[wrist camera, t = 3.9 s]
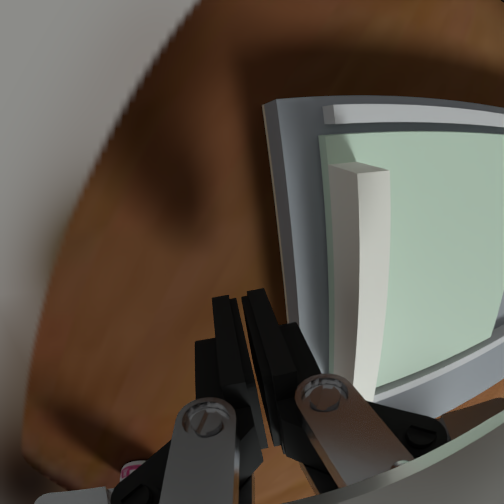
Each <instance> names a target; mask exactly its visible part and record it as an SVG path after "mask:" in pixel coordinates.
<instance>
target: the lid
mask: <svg viewBox="0 0 504 504" xmlns="http://www.w3.org/2000/svg"><path fill="white" fill-rule="evenodd" d="M318 138H319V148H320V158H321V168H322V180H323V192H324V206H325V221H326V238H327V259H328V289H329V373H330V374H336V375H339V376H342V377H344V378H346V379H347V380H348V381H349V382H350V383H351V384H352V385H353V386H354V387H355V388H356V390H357V391H358V392H359V393H360V394H361V396H362V397H363V398H364V399H365V400H366V401H370V402H373V400H374V394H375V388H376V387H379V386H382V385H384V384H387V383H390V382H393V381H395V380H398V379H400V378H403V377H406V376H408V375H411V374H413V373H416V372H418V371H420V370H423V369H425V368H427V367H430V366H432V365H434V364H437V363H439V362H441V361H443V360H446V359H448V358H450V357H452V356H454V355H456V354H458V353H460V352H462V351H465V350H467V349H469V348H471V347H473V346H474V345H476V344H478V343H480V342H482V341H484V340H486V339H488V338H490V337H491V335H492V331H493V328H494V325H495V322H496V318H497V315H498V311H499V307H500V304H501V300H502V296H503V292H504V134H494V133H479V132H456V131H385V132H361V133H344V134H330V135H318Z"/></svg>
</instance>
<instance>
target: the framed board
mask: <svg viewBox="0 0 504 504" xmlns="http://www.w3.org/2000/svg"><path fill="white" fill-rule="evenodd" d="M262 109H263V117H264V124H265V131H266V139H267V146H268V154H269V162H270V170H271V178H272V186H273V194H274V202H275V211H276V219H277V228H278V237H279V246H280V255H281V264H282V274H283V284H284V293H285V304H286V314H287V324H288V323H292V322H297V324H298V326H299V328H300V330H301V332H302V334H303V336H304V338H305V340H306V342H307V344H308V346H309V348H310V350H311V352H312V354H313V356H314V358H315V360H316V362H317V364H318V367H319V369H320V371H321V373H322V374H327V373H329V289H328V259H327V238H326V221H325V206H324V192H323V180H322V168H321V158H320V148H319V138H318V135H330V134H344V133H361V132H385V131H456V132H479V133H494V134H504V108H501V107H496V106H490V105H483V104H477V103H469V102H462V101H453V100H444V99H433V98H420V97H403V96H371V95H349V96H316V97H298V98H285V99H276V100H273V101H271V102H268V103H266V104H264V105H262ZM503 378H504V292H503V296H502V300H501V304H500V307H499V311H498V315H497V318H496V322H495V325H494V328H493V331H492V335H491V337H490V338H488V339H486V340H484V341H482V342H480V343H478V344H476V345H474V346H473V347H471V348H469V349H467V350H465V351H462V352H460V353H458V354H456V355H454V356H452V357H450V358H448V359H446V360H443V361H441V362H439V363H437V364H434V365H432V366H430V367H427V368H425V369H423V370H420V371H418V372H416V373H413V374H411V375H408V376H406V377H403V378H400V379H398V380H395V381H393V382H390V383H387V384H384V385H382V386H379V387H376V388H375V394H374V400H373V403H377V404H381V405H384V406H388V407H392V408H396V409H400V410H404V411H408V412H412V413H417V414H421V415H425V416H429V417H432V418H436V417H438V416H440V415H442V414H444V413H446V412H448V411H450V410H452V409H454V408H455V407H457V406H459V405H461V404H463V403H464V402H466V401H468V400H470V399H471V398H473V397H475V396H476V395H478V394H480V393H481V392H483V391H485V390H486V389H488V388H490V387H491V386H493V385H494V384H496V383H497V382H499V381H500V380H502V379H503Z"/></svg>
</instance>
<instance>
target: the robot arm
mask: <svg viewBox="0 0 504 504" xmlns="http://www.w3.org/2000/svg"><path fill="white" fill-rule="evenodd" d="M241 298H242V304H243V310H244V315H245V321H246V327H247V332H248V338H249V343H250V349H251V354H252V359H253V364H254V369H255V373H256V377H257V381H258V385H259V389H260V393H261V397H262V401H263V405H264V409H265V413H266V417H267V421H268V425H269V429H270V433H271V437H272V441H273V444H274V446H279V445H281V447H282V450H283V454H286V456H287V457H289V458H292V459H294V460H296V461H299V463H300V467H301V469H302V471H303V472H304V474H305V476H306V478H307V480H308V482H309V483H310V485H311V487H312V489H313V491H314V493H315V494H316V495H315V496H312V497H308V498H304V499H300V500H296V501H291V502H287V503H283V504H504V398H495V399H491V400H489V401H486V402H483V403H479V404H476V405H473V406H470V407H467V408H463V409H460V410H456V411H453V412H449V413H445V414H442V415H441V418H439V419H434V418H432V417H429V416H425V415H421V414H417V413H412V412H408V411H404V410H400V409H396V408H392V407H388V406H384V405H381V404H377V403H373V402H370V401H366V400H365V399H364V398H363V397H362V396H361V394H360V393H359V392H358V391H357V390H356V388H355V387H354V386H353V385H352V384H351V383H350V382H349V381H348V380H347V379H346V378H344V377H342V376H339V375H336V374H330V373H327V374H322V373H321V371H320V369H319V367H318V364H317V362H316V360H315V358H314V356H313V354H312V352H311V350H310V348H309V346H308V344H307V342H306V340H305V338H304V336H303V334H302V332H301V330H300V328H299V326H298V324H297V322H292V323H288V324H283V325H278V322H277V320H276V317H275V315H274V312H273V310H272V307H271V305H270V302H269V300H268V297H267V295H266V292H265V290H264V288H262V289H257V290H251V291H247V296H244V297H241ZM212 305H213V316H214V327H215V338H211V339H205V340H199V341H196V342H195V386H196V400H194V401H192V402H190V403H188V404H187V405H185V406H184V407H183V408H182V409H181V410H180V412H179V413H178V415H177V418H176V421H175V426H174V431H173V435H172V439H171V440H170V441H169V442H168V443H167V444H166V445H164V446H163V447H162V448H161V449H160V450H158V451H157V452H156V453H155V454H154V455H153V456H151V457H150V458H149V459H148V460H147V461H145V462H144V463H143V464H142V465H141V466H139V467H138V468H137V469H136V470H134V471H133V472H132V473H131V474H129V475H128V476H127V477H126V478H124V479H123V480H122V481H121V482H120V483H119V484H118V485H117V486H116V487H115V488H113V489H107V488H106V487H99V488H92V489H85V490H77V491H68V492H57V493H48V494H44V495H42V496H41V497H39V498H38V499H37V500H36V502H35V504H255V477H254V471H255V470H256V469H257V468H258V467H259V465H260V464H261V463H262V462H263V456H262V452H261V449H264V448H268V444H267V439H266V434H265V429H264V424H263V419H262V414H261V409H260V404H259V399H258V394H257V389H256V384H255V379H254V375H253V370H252V366H251V362H250V358H249V353H248V349H247V345H246V340H245V336H244V331H243V327H242V323H241V318H240V314H239V309H238V305H237V300H236V298H233V299H229V295H225V296H220V297H214V298H212Z"/></svg>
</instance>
